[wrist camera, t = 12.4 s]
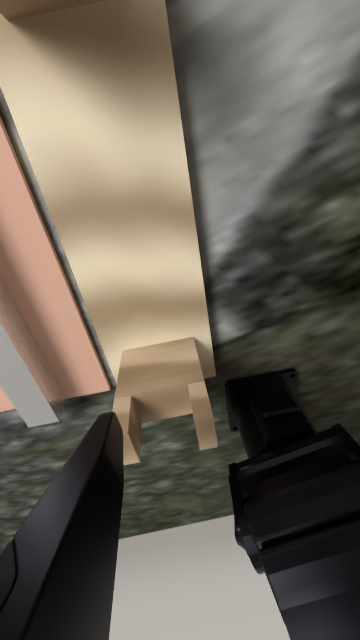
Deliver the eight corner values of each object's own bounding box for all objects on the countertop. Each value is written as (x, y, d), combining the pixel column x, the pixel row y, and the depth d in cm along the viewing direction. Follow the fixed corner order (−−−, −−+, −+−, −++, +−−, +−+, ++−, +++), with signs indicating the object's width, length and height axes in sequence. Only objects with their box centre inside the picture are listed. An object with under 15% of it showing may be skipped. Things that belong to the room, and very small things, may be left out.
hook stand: (213, 366, 23) (242, 461, 16) (122, 384, 23) (108, 487, 16) (140, -156, 10) (111, -1031, 3) (-67, -115, 10) (-647, -872, 3)
